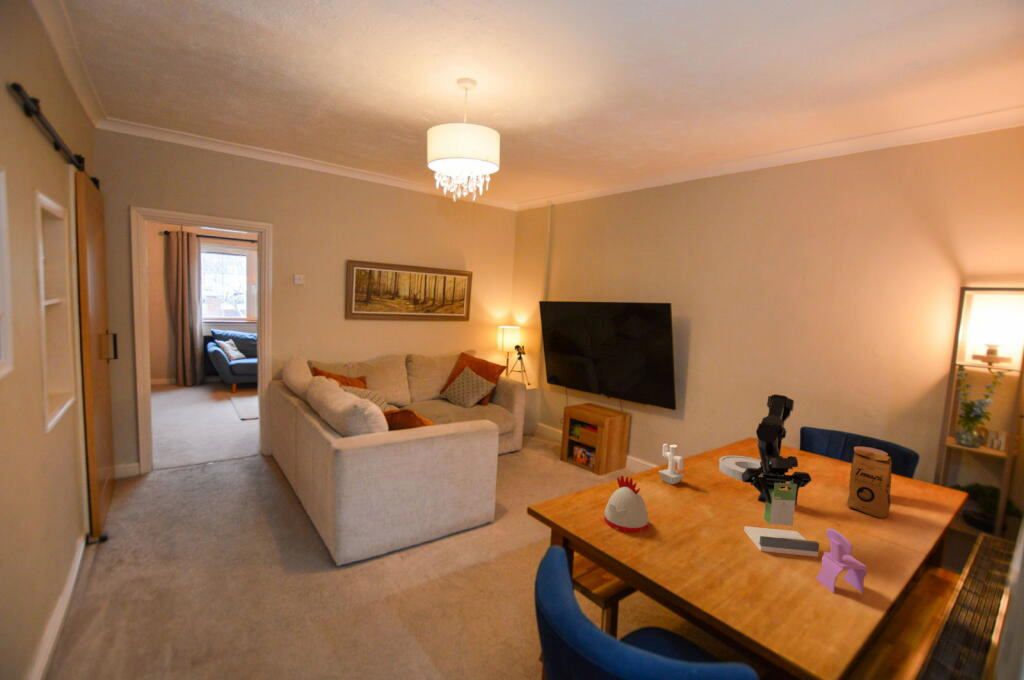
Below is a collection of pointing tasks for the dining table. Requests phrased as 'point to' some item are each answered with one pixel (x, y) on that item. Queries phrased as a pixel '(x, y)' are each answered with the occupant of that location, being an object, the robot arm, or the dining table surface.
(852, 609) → the dining table surface
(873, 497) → the coffee package
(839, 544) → the toy chair
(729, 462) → the ashtray
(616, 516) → the kitchen timer
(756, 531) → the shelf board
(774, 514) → the ink box
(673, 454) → the figurine
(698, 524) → the dining table surface
